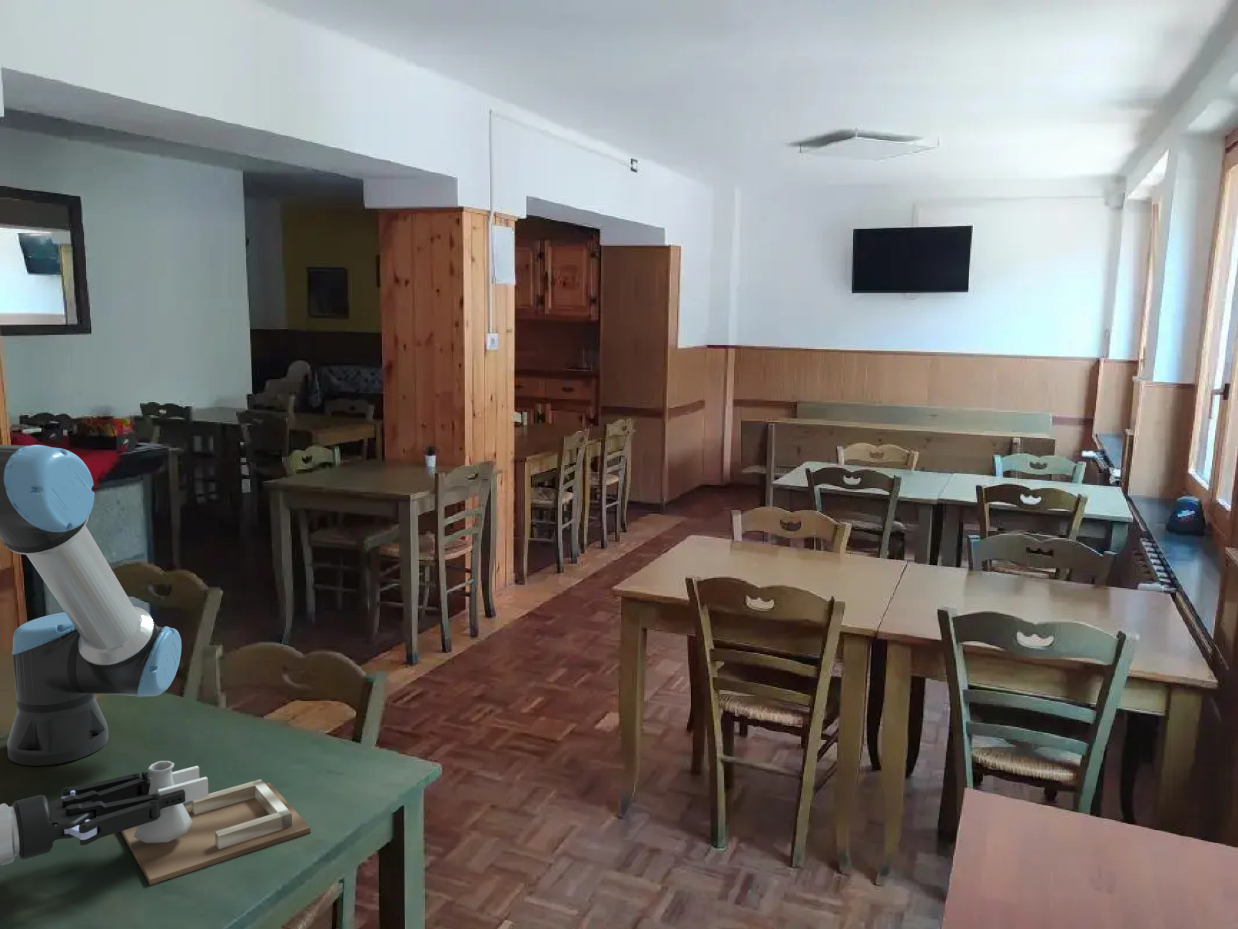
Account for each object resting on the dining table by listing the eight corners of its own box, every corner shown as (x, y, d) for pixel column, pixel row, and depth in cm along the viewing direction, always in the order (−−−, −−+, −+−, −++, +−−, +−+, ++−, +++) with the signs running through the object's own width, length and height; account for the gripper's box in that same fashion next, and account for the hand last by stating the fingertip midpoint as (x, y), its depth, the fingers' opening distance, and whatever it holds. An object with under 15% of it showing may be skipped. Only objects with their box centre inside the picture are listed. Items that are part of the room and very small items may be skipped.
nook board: (119, 830, 139) (119, 812, 139) (269, 787, 153) (269, 770, 153) (150, 885, 126) (149, 866, 126) (310, 832, 140) (310, 815, 140)
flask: (169, 848, 131) (166, 781, 129) (123, 841, 132) (120, 774, 131) (202, 822, 138) (200, 757, 136) (158, 815, 139) (155, 751, 138)
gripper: (6, 831, 129) (187, 782, 144) (25, 888, 117) (221, 829, 132) (2, 779, 128) (185, 736, 143) (22, 832, 116) (220, 778, 131)
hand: (202, 780), depth 137 cm, fingers closed on flask, 3 cm apart
